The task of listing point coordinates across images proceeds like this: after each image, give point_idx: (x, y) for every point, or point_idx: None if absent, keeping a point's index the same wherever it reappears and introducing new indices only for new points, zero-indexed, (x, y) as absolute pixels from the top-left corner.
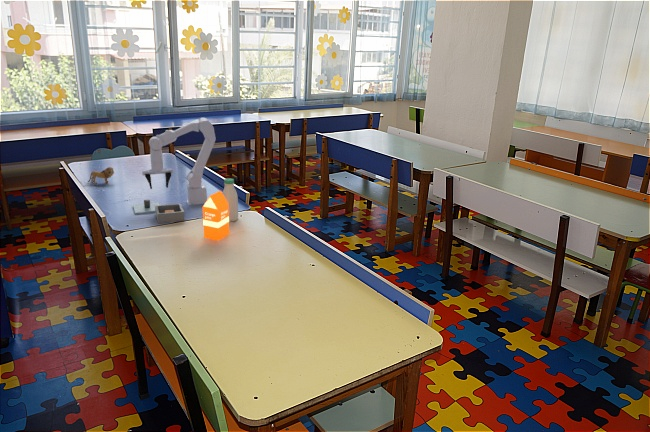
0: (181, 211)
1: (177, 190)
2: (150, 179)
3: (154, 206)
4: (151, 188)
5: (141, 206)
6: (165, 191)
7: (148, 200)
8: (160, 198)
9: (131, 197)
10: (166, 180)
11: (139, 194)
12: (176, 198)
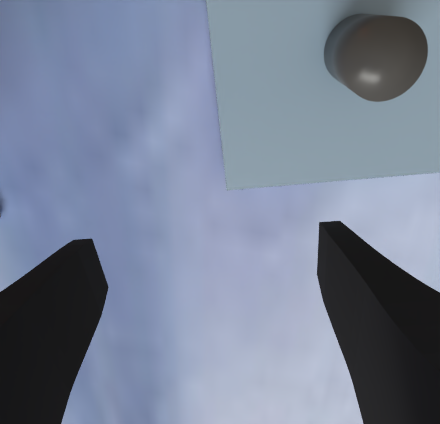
0: None
1: (111, 399)
2: (425, 337)
3: (279, 59)
4: (330, 224)
5: (411, 88)
6: (183, 397)
7: (364, 60)
8: (215, 301)
9: None
10: (23, 333)
11: (344, 382)
12: None
